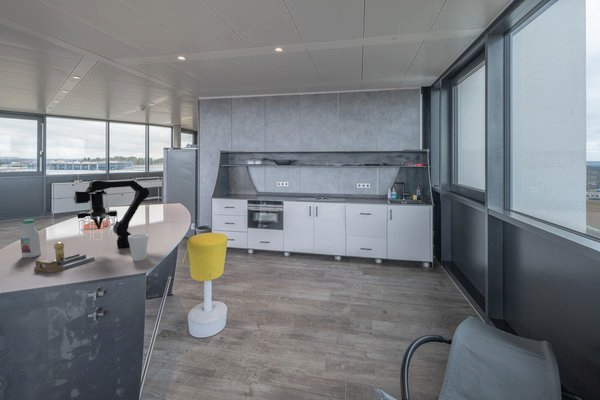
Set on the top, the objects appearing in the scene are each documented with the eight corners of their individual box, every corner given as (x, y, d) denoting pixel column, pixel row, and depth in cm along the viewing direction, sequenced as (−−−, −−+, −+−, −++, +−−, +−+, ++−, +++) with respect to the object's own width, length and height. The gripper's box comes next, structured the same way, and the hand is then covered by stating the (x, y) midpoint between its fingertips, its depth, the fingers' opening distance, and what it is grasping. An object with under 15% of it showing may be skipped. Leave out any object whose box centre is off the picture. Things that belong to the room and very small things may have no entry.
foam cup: (152, 257, 167) (151, 234, 165) (139, 262, 158) (137, 238, 157) (139, 255, 170) (138, 232, 169) (125, 260, 162) (123, 236, 160)
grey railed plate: (77, 257, 165) (77, 248, 165) (94, 259, 162) (93, 251, 161) (34, 270, 146) (33, 260, 145) (52, 273, 142) (51, 263, 141)
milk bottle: (38, 253, 172) (35, 218, 169) (43, 255, 168) (39, 219, 165) (20, 256, 166) (16, 220, 163) (24, 259, 161) (21, 221, 159)
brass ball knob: (61, 261, 154) (60, 241, 152) (67, 262, 152) (65, 241, 151) (40, 267, 145) (39, 245, 143) (46, 268, 143) (45, 246, 142)
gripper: (74, 204, 163) (76, 233, 165) (115, 203, 172) (116, 230, 173) (78, 202, 173) (80, 229, 175) (116, 200, 181) (118, 226, 183)
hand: (99, 228), depth 176 cm, fingers closed
